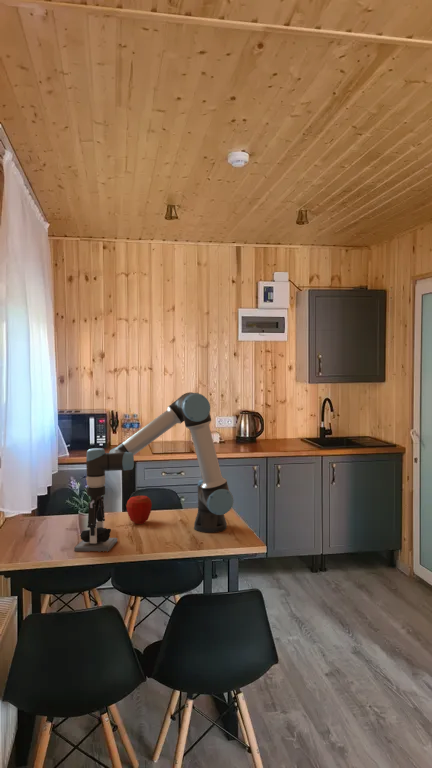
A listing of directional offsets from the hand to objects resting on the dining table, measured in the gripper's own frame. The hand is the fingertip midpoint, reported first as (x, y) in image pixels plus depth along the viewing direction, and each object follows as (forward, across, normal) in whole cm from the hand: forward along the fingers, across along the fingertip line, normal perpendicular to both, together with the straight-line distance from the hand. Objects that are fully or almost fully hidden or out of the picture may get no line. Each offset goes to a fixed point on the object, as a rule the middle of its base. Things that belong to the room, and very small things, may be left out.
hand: (96, 539), depth 234 cm
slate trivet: (+3, 0, 0) cm, 3 cm away
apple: (+3, -36, +10) cm, 37 cm away
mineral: (+1, 0, 0) cm, 1 cm away
